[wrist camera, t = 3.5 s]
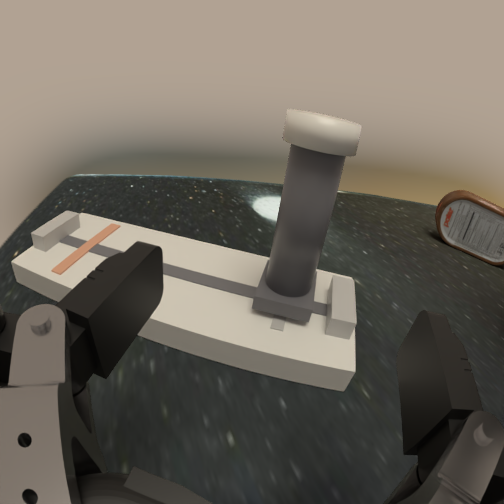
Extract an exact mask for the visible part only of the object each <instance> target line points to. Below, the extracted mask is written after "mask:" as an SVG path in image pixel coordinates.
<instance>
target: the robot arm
mask: <svg viewBox="0 0 504 504" xmlns="http://www.w3.org/2000/svg"><path fill="white" fill-rule="evenodd" d="M163 289H164V285H163V252H162V248H161V247H160V246H156V245H152V244H149V243H145V242H141V241H137V242H135V243H134V244H133V245H132V246H131V247H129V248H128V249H127V250H126V251H125V252H124V253H121V252H119V253H117V254H115V255H113V256H111V257H108V258H106V259H105V260H104V261H103V262H101V263H100V264H99V265H98V266H97V267H96V268H95V270H93V271H91V272H90V273H89V274H88V275H87V278H84V279H83V280H82V281H81V282H79V283H78V284H77V285H76V286H75V287H74V288H73V289H72V290H71V291H70V292H69V293H68V294H67V295H66V296H65V297H64V298H63V299H62V300H61V301H60V302H58V303H57V304H56V305H55V306H54V305H49V304H42V305H37V306H34V307H32V308H30V309H28V310H27V311H25V312H24V313H23V314H22V315H17V314H11V313H5V312H3V311H2V308H1V306H0V504H212V503H211V502H209V501H207V500H205V499H204V498H202V497H200V496H198V495H197V494H195V493H193V492H192V491H190V490H188V489H187V488H185V487H183V486H182V485H179V484H177V483H174V482H171V481H168V480H166V479H163V478H161V477H158V476H156V475H153V474H151V473H148V472H146V471H143V470H141V469H139V468H136V467H134V466H133V468H132V470H131V472H130V474H129V475H128V474H121V473H108V472H107V468H106V464H105V460H104V457H103V454H102V452H101V449H100V447H99V444H98V440H97V436H96V430H95V424H94V418H93V411H92V404H91V396H90V387H89V382H88V380H89V378H90V377H91V376H92V374H93V373H94V374H96V375H98V376H100V377H103V378H105V379H107V377H108V376H109V374H110V373H111V371H112V370H113V369H114V367H115V366H116V364H117V363H118V361H119V360H120V359H121V357H122V356H123V354H124V353H125V351H126V350H127V349H128V347H129V346H130V344H131V343H132V342H133V340H134V339H135V337H136V336H137V335H138V333H139V332H140V330H141V329H142V328H143V326H144V325H145V323H146V322H147V321H148V319H149V318H150V317H151V315H152V314H153V312H154V311H155V310H156V308H157V307H158V305H159V304H160V301H161V299H162V295H163ZM396 366H397V374H398V383H399V393H400V403H401V416H402V430H403V451H404V455H418V462H417V463H416V464H414V465H413V467H412V468H411V469H410V470H409V472H408V473H407V474H406V476H405V477H404V478H403V480H402V481H401V482H400V484H399V485H398V486H397V487H396V489H395V490H394V491H393V492H392V494H391V495H390V496H389V497H388V498H387V500H386V501H385V502H384V503H383V504H504V503H503V499H504V430H503V427H502V425H501V423H500V422H499V420H498V419H497V418H496V417H495V416H494V415H492V414H490V413H488V412H486V411H483V408H482V404H481V400H480V397H479V393H478V390H477V386H476V383H475V379H474V376H473V373H471V370H472V369H471V366H470V363H469V362H468V357H467V354H466V351H465V348H464V346H463V344H462V343H461V341H460V340H459V339H458V337H457V336H456V335H455V333H452V331H451V328H450V325H449V323H448V320H447V317H446V316H445V315H443V314H439V313H434V312H430V311H425V310H423V311H421V312H420V313H419V315H418V316H417V318H416V320H415V322H414V324H413V325H412V327H411V329H410V331H409V332H408V334H407V336H406V338H405V339H404V341H403V343H402V344H401V346H400V348H399V351H398V355H397V361H396Z"/></svg>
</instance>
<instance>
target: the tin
mask: <svg viewBox="0 0 504 504" xmlns="http://www.w3.org/2000/svg"><path fill="white" fill-rule="evenodd" d="M435 220H436V225H437V230H438V232H439V235H440V236H441V238H442V239H443V240H444V242H445V243H447V244H448V245H450V246H451V247H454V248H456V249H458V250H460V251H463V252H465V253H467V254H469V255H471V256H474V257H476V258H478V259H480V260H482V261H484V262H486V263H488V264H491V265H503V264H504V209H503V208H502V207H500V206H497V205H496V204H494V203H491V202H490V201H488V200H486V199H483V198H481V197H479V196H477V195H475V194H473V193H471V192H469V191H465V190H457V191H453V192H450V193H448V194H447V195H446V196H444V197H443V198H442V200H441V201H440V203H439V204H438V206H437V209H436V214H435Z"/></svg>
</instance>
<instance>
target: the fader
mask: <svg viewBox="0 0 504 504" xmlns="http://www.w3.org/2000/svg"><path fill="white" fill-rule="evenodd" d="M361 129H362V126H361V125H359V124H357V123H354V122H351V121H347V120H345V119H341V118H337V117H333V116H329V115H325V114H320V113H315V112H309V111H303V110H296V109H288V110H287V114H286V121H285V126H284V132H283V140H285V141H286V142H288V143H291V147H290V153H289V158H288V164H287V169H286V175H285V181H284V186H283V191H282V196H281V202H280V207H279V213H278V218H277V223H276V228H275V234H274V239H273V244H272V249H271V254H270V259H269V260H268V261H267V263H266V266H265V269H264V271H263V274H262V276H261V279H260V282H259V284H258V287H257V290H256V292H255V295H254V299H253V304H252V309H256V310H260V311H264V312H268V313H272V314H276V315H280V316H284V317H288V318H292V319H296V320H300V321H305V322H309V320H310V317H311V314H312V311H313V304H314V296H315V287H316V278H317V271H316V269H317V266H318V262H319V259H320V255H321V252H322V248H323V244H324V241H325V237H326V233H327V230H328V226H329V222H330V218H331V215H332V211H333V207H334V203H335V199H336V195H337V191H338V187H339V183H340V179H341V174H342V170H343V166H344V161H345V157H346V156H355V155H356V151H357V147H358V142H359V138H360V133H361Z"/></svg>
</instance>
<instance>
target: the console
mask: <svg viewBox="0 0 504 504" xmlns="http://www.w3.org/2000/svg"><path fill="white" fill-rule="evenodd" d="M31 235H32V240H33V246H32V247H30V248H29V249H28V250H26V251H25V252H23V253H22V254H21V255H19V256H18V257H17V258H15V259H14V260H13V261H11V263H12V267H13V270H14V274H15V277H16V280H17V282H18V283H20V284H22V285H24V286H26V287H28V288H30V289H32V290H34V291H36V292H38V293H40V294H42V295H44V296H46V297H48V298H50V299H53V300H55V301H57V302H60V301H61V300H62V299H63V298H64V297H65V296H66V295H67V294H68V293H69V292H70V291H71V290H72V289H73V288H74V287H75V286H76V285H77V284H78V283H79V282H81V281H82V280H83V279H84V278H87V275H88V274H89V273H90V272H91V271H93V270H95V268H96V267H97V266H98V265H99V264H100V263H101V262H103V261H104V260H105V259H106V258H108V257H111V256H113V255H115V254H117V253H119V252H121V253H124V252H125V251H126V250H127V249H128V248H129V247H131V246H132V245H133V244H134V243H135V242H137V241H141V242H145V243H149V244H152V245H156V246H160V247H161V248H162V252H163V285H164V289H163V295H162V299H161V301H160V304H159V305H158V307H157V308H156V310H155V311H154V312H153V314H152V315H151V317H150V318H149V319H148V321H147V322H146V323H145V325H144V326H143V328H142V329H141V330H140V332H139V333H138V336H141V337H144V338H146V339H149V340H152V341H155V342H158V343H161V344H163V345H166V346H169V347H172V348H175V349H178V350H181V351H184V352H187V353H190V354H194V355H197V356H200V357H203V358H206V359H210V360H213V361H216V362H220V363H223V364H227V365H230V366H234V367H237V368H241V369H245V370H248V371H252V372H256V373H260V374H264V375H268V376H272V377H276V378H280V379H285V380H289V381H293V382H298V383H302V384H307V385H312V386H317V387H322V388H327V389H332V390H337V391H343V392H344V390H345V389H346V387H347V385H348V384H349V382H350V380H351V379H352V377H353V375H354V373H355V326H356V324H357V322H356V303H355V287H354V280H352V278H351V277H347V276H343V275H339V274H335V273H330V272H326V271H322V270H318V269H316V271H317V278H316V287H315V296H314V304H313V311H312V314H311V317H310V320H309V322H305V321H300V320H296V319H292V318H288V317H284V316H280V315H276V314H272V313H268V312H264V311H260V310H256V309H252V304H253V299H254V295H255V292H256V290H257V287H258V284H259V282H260V279H261V276H262V274H263V271H264V269H265V266H266V263H267V261H268V260H269V259H270V258H268V257H264V256H259V255H255V254H251V253H247V252H243V251H239V250H234V249H230V248H226V247H222V246H218V245H214V244H209V243H205V242H201V241H197V240H193V239H189V238H184V237H180V236H176V235H172V234H168V233H164V232H160V231H155V230H151V229H147V228H143V227H139V226H135V225H131V224H126V223H122V222H118V221H114V220H110V219H106V218H102V217H98V216H93V215H89V214H85V213H81V214H79V213H75V212H71V211H65V212H64V213H62V214H60V215H59V216H57V217H55V218H54V219H52V220H51V221H49V222H47V223H46V224H44V225H43V226H41V227H40V228H38V229H37V230H35V231H34V232H32V233H31Z"/></svg>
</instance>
